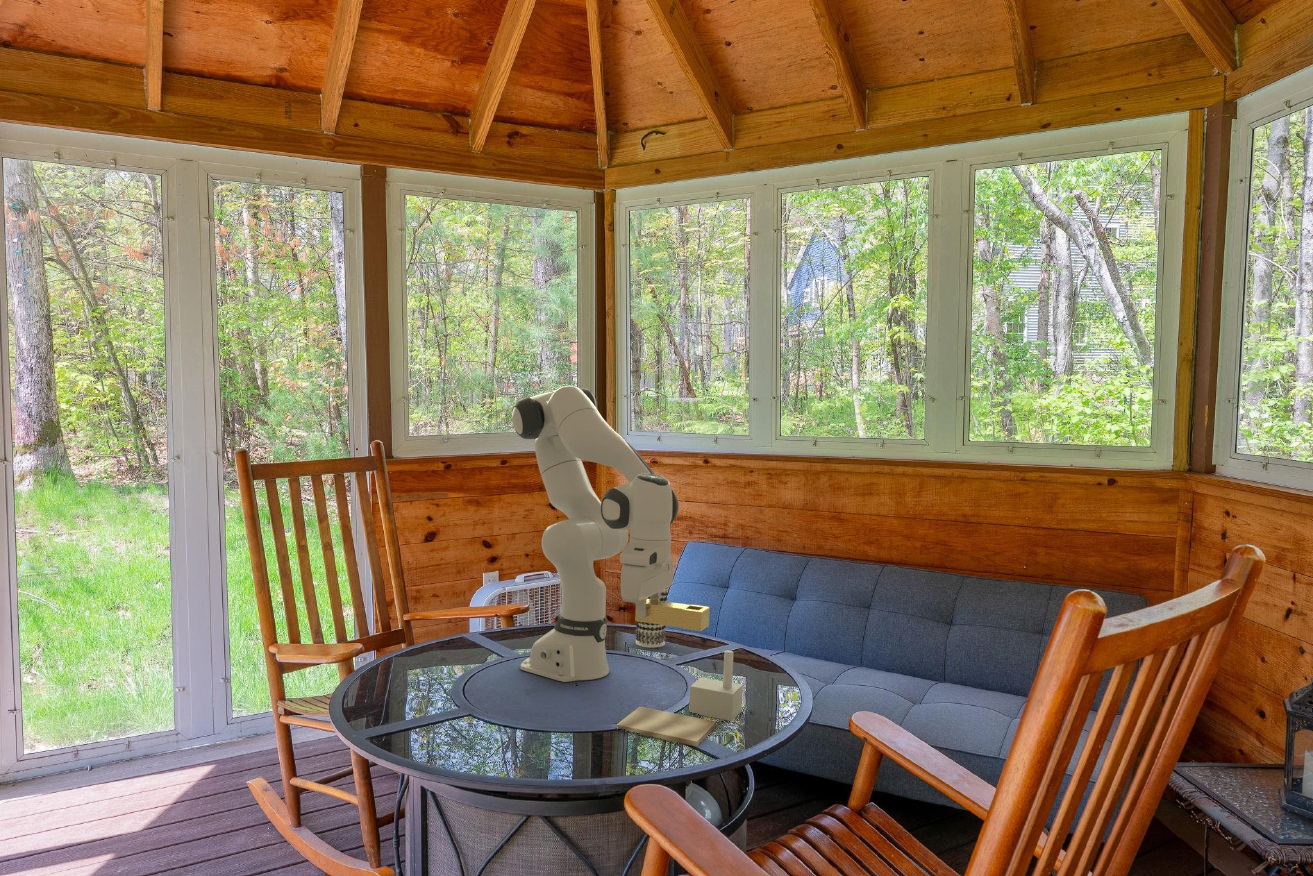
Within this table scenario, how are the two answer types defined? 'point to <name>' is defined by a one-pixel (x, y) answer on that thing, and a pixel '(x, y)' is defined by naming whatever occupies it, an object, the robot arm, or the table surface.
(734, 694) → the peg block
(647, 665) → the table surface
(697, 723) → the birch pad
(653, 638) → the decorative candle
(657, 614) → the brass hook bar
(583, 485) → the robot arm
